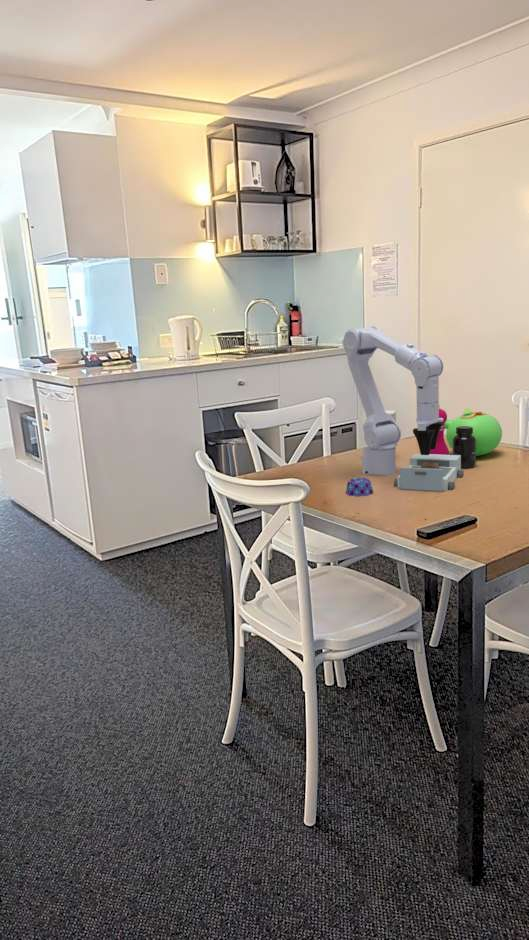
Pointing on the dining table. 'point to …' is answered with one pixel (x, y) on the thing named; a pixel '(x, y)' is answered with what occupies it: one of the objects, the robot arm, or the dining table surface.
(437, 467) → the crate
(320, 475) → the dining table surface
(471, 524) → the dining table surface
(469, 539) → the dining table surface
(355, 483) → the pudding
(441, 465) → the ute bed
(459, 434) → the supplement bottle
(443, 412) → the pepper mill
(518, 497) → the dining table surface
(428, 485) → the panel
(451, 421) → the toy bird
